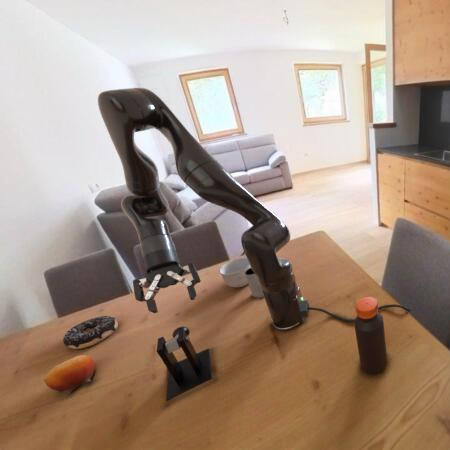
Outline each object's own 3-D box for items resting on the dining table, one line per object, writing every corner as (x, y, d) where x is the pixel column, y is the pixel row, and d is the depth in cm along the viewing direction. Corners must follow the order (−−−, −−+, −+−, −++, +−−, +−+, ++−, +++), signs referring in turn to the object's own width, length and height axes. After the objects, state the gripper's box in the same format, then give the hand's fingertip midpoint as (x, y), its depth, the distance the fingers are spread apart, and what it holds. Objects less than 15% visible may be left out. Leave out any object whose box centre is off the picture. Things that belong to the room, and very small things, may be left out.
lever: (176, 341, 75) (171, 328, 75) (192, 334, 77) (187, 322, 76) (165, 357, 64) (160, 343, 63) (184, 349, 65) (179, 335, 65)
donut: (86, 354, 78) (78, 344, 76) (56, 347, 80) (48, 338, 79) (128, 324, 87) (122, 315, 86) (101, 319, 90) (94, 310, 88)
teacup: (244, 293, 99) (238, 274, 95) (219, 290, 101) (211, 272, 98) (268, 270, 111) (263, 253, 108) (245, 268, 113) (239, 251, 110)
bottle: (355, 367, 70) (344, 307, 61) (372, 348, 75) (364, 290, 66) (376, 381, 67) (368, 319, 58) (392, 360, 72) (387, 300, 63)
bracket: (170, 369, 72) (148, 333, 67) (210, 351, 77) (192, 316, 71) (168, 403, 64) (143, 366, 58) (213, 381, 69) (193, 344, 63)
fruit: (58, 403, 64) (35, 376, 63) (61, 399, 69) (40, 374, 68) (104, 375, 70) (85, 349, 69) (104, 373, 75) (86, 349, 74)
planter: (269, 293, 98) (262, 269, 94) (258, 300, 95) (249, 276, 90) (262, 289, 100) (254, 265, 96) (250, 296, 97) (241, 272, 93)
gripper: (121, 258, 74) (135, 315, 70) (185, 241, 81) (201, 292, 77) (133, 266, 80) (147, 319, 77) (192, 249, 87) (207, 297, 84)
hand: (174, 305), depth 77 cm, fingers open, 8 cm apart
